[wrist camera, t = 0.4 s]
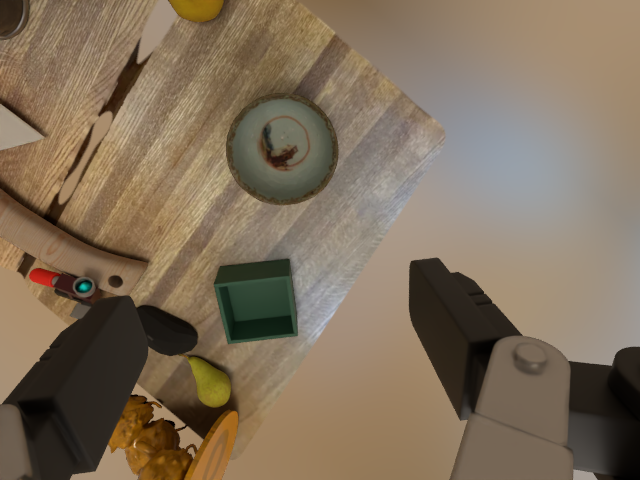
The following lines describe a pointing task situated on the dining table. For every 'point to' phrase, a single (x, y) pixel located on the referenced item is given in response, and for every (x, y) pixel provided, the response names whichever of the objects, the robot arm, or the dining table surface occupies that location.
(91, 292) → the toy gun
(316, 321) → the dining table surface
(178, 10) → the apple
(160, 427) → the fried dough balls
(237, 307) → the bin
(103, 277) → the axe
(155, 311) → the gaming mouse
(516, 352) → the robot arm
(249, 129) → the bowl
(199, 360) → the fruit
